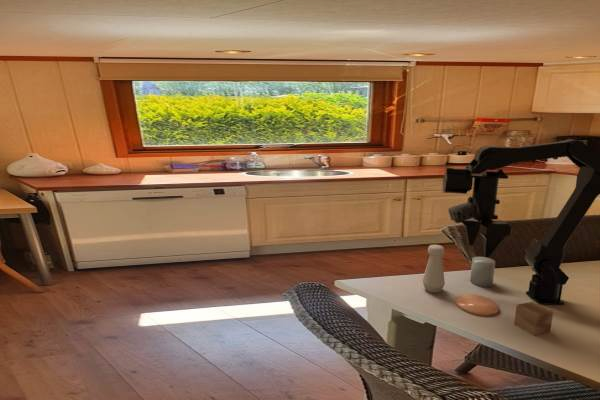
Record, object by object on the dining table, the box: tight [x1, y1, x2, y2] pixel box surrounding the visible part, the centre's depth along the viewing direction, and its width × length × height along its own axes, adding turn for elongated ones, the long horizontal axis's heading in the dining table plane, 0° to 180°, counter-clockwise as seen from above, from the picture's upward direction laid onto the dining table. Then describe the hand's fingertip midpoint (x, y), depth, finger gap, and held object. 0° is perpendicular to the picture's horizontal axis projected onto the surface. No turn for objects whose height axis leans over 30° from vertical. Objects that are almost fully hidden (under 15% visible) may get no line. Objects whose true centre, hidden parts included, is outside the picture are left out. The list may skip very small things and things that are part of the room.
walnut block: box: [513, 300, 554, 336], centre depth 82 cm, size 5×5×5 cm
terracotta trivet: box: [454, 293, 500, 317], centre depth 92 cm, size 10×10×1 cm
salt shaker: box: [422, 244, 446, 294], centre depth 100 cm, size 6×6×13 cm
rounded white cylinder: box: [469, 256, 496, 288], centre depth 105 cm, size 6×6×7 cm
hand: (478, 250), depth 98 cm, fingers open, 9 cm apart
